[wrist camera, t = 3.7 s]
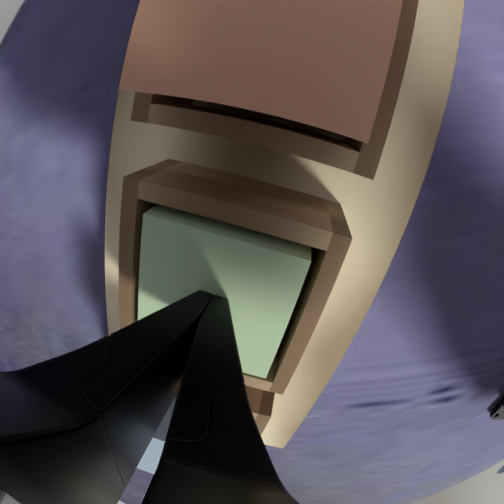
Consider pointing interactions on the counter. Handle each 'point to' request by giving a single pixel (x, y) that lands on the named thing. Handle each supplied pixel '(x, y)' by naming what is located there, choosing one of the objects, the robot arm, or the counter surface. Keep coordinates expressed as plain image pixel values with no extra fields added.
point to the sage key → (223, 276)
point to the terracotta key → (268, 56)
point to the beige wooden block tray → (288, 199)
